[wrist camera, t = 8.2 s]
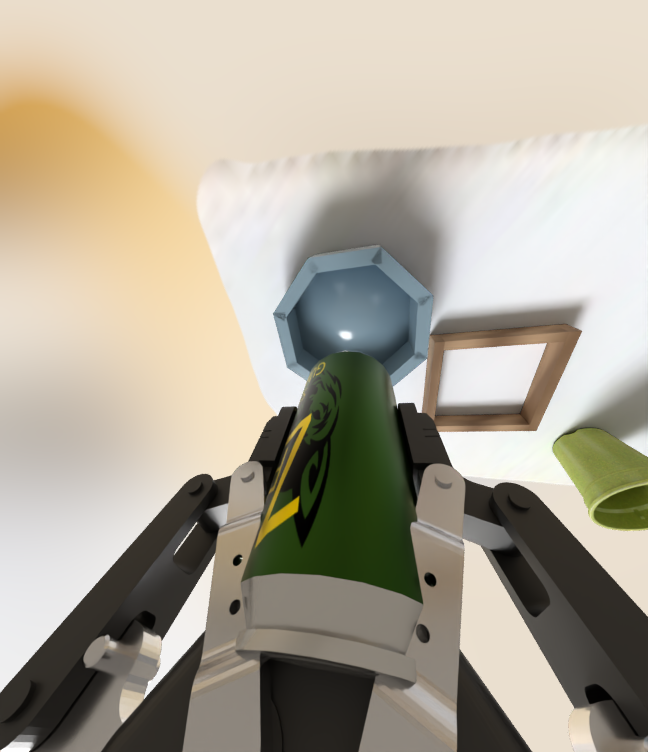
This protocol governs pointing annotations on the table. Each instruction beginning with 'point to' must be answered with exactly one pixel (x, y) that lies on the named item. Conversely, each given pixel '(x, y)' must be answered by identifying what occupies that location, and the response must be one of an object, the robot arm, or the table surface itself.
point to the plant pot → (607, 477)
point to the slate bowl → (355, 312)
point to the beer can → (338, 533)
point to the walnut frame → (550, 366)
